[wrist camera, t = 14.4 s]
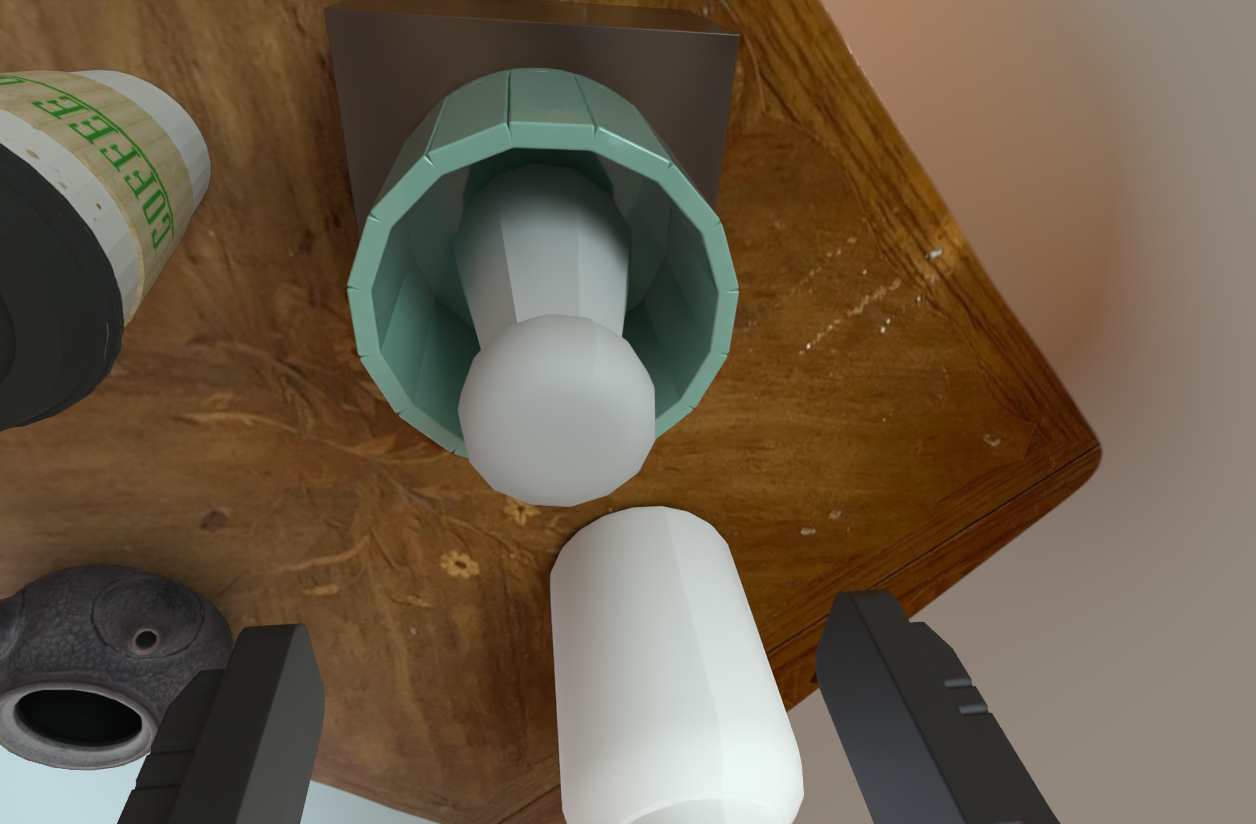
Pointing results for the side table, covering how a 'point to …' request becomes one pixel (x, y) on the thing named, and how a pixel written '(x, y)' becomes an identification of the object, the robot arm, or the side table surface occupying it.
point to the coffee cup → (84, 225)
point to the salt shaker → (551, 339)
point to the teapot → (100, 663)
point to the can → (664, 680)
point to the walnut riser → (524, 38)
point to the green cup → (460, 167)
